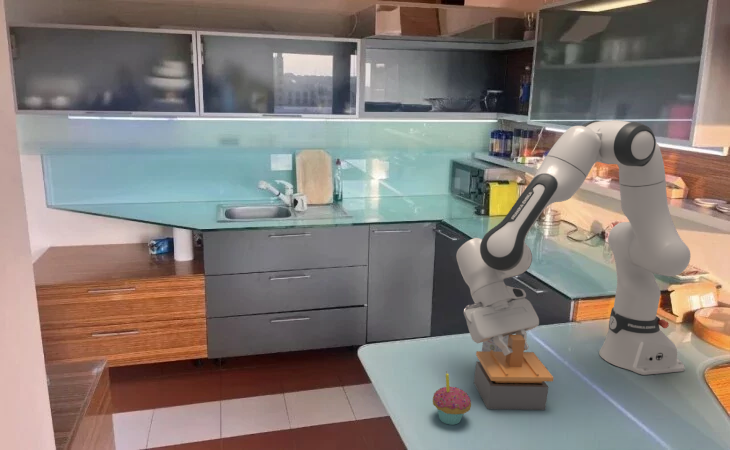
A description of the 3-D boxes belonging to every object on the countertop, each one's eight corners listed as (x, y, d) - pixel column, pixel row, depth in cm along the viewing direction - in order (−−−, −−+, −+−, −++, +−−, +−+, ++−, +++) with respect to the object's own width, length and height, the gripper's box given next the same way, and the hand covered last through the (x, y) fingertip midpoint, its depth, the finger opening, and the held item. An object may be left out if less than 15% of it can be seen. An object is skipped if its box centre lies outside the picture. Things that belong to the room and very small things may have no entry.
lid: (532, 361, 145) (536, 326, 143) (552, 387, 133) (557, 349, 131) (475, 360, 144) (479, 325, 142) (490, 386, 132) (495, 348, 129)
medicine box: (493, 349, 165) (497, 321, 163) (507, 354, 162) (511, 326, 160) (480, 358, 159) (483, 329, 157) (494, 363, 156) (498, 334, 154)
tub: (526, 383, 146) (530, 362, 145) (545, 409, 135) (548, 386, 133) (473, 382, 145) (476, 361, 144) (487, 409, 134) (490, 386, 132)
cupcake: (439, 431, 124) (445, 381, 121) (424, 410, 131) (429, 362, 129) (475, 427, 126) (481, 378, 123) (458, 406, 134) (464, 359, 131)
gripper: (468, 300, 134) (493, 356, 129) (528, 288, 145) (554, 339, 140) (454, 311, 139) (477, 365, 134) (513, 299, 150) (537, 348, 144)
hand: (517, 352), depth 137 cm, fingers closed on lid, 4 cm apart
